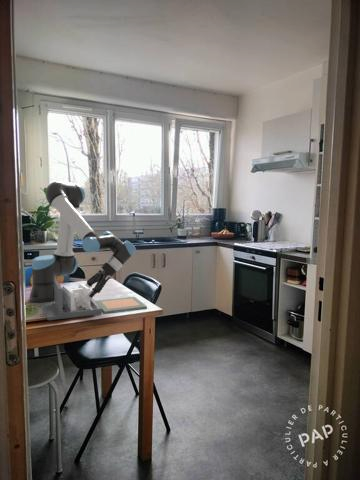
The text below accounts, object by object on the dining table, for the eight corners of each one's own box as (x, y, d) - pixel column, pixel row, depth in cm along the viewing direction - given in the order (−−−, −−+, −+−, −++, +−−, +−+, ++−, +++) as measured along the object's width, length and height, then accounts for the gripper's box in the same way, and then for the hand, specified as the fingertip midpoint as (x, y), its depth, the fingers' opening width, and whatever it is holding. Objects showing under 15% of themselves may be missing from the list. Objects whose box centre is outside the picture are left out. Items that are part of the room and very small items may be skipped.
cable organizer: (91, 312, 168) (91, 288, 167) (69, 315, 162) (69, 291, 161) (82, 304, 180) (81, 282, 179) (61, 307, 175) (60, 285, 173)
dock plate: (95, 302, 184) (95, 300, 184) (134, 298, 194) (134, 296, 194) (104, 313, 167) (104, 311, 167) (146, 308, 176) (146, 306, 176)
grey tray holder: (43, 307, 173) (43, 280, 172) (92, 302, 184) (92, 277, 183) (47, 320, 155) (47, 290, 154) (101, 313, 166) (101, 285, 164)
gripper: (123, 275, 166) (92, 309, 161) (110, 267, 189) (82, 296, 184) (113, 265, 163) (81, 299, 158) (100, 258, 186) (72, 287, 181)
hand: (81, 298), depth 171 cm, fingers open, 13 cm apart
